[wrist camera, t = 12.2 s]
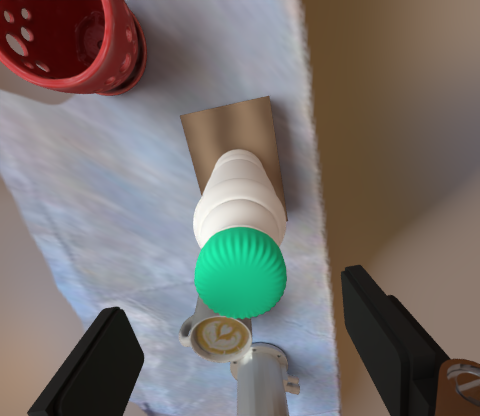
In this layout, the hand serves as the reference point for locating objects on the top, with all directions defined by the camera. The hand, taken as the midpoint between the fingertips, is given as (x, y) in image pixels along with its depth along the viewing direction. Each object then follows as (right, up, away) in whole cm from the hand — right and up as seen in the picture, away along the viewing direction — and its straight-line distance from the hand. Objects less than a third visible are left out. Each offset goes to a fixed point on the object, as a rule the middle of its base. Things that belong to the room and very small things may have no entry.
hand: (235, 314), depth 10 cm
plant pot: (-18, +27, +23) cm, 39 cm away
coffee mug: (-4, -13, +38) cm, 40 cm away
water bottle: (0, +10, +25) cm, 27 cm away
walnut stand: (0, +11, +28) cm, 31 cm away
